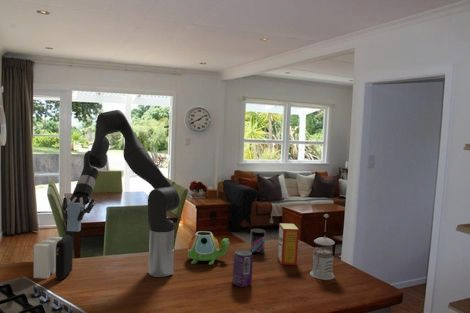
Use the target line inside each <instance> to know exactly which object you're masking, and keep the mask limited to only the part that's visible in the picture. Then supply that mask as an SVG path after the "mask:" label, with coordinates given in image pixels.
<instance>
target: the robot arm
mask: <svg viewBox="0 0 470 313" xmlns="http://www.w3.org/2000/svg"><path fill="white" fill-rule="evenodd" d="M95 121H96V122H95V130H94V139H93V140H94V141H93V143H92V144H91V145H92V146H91V148H90V150H87V151H86V152H85V153H84V156H83V168H82V171H81V173H80V176H79V178H78V180H77V183H76V185H75V188H74V190H73V192H72V195H71V197H70V198H67V197H63V201H62V205H61V206H62V207H61V208H62V210H63V213H64V215H63V219H64V221H67V220H68V214H67V206H68V203H69V202H72V203H81V212H80V213H79V215H78V218H77V220H78V221H81V222H82V221H83V220H84V219H83V218H84V216H85V214H90V213H91V211H92V209H93V208H94V207H95V206H96V201H95V199H94V198H93V199H91V197H92V194H93V192H94V189H95V185H96V181H97V178H98V176H99V171H98V169H103V168H105V167H106V165H107V163H108V155H107V153H108V151H109V148H110V140H109V138H108V137H107V135H111V134H114V133H120V134H121V135H122V136H123V139H124V146H123V151H122V153H123V159H124V161H125V162H126V164H127V166H128V167H129V168H130V170H131V171H132V172H133V173H134V174H135V175H136V176H138V177H139V178H141V179H142V180H144V181H145V182H147V183H148V184H149V185H150V186H152V190H150V192H149V194H148V196H147V222H148V224H149V238H148V239H149V241H148V244H149V246H148V269H147V270H148V272H147V273H148V275H149V276H151V277H155V278H164V277H168V276H173V275H174V260H175V259H174V258H175V257H174V256H175V252H174V251H175V250H174V245H175V244H174V240H175V239H174V238H175V222H174V221H173V220H171V219H168V218H167V217H168V215H167V212H169V211H173V210H176V209H178V208H179V206H180V202H181V200H180V195H179V192H178V191H177V189H176V188H175V187H174V186H173V184H172V183H171V182H170V181H169V180H168V178H167V177H166V176H165V175H164V174H163V172H162V171H161V170H160V168H159V167H158V166H157V164H156V163H155V161H154V160H153V158H152V157H151V155H150V154H149V152H148V150H146V147H144V145H143V144H142V143H141V140H140V139H139V138H138V136H137V135H136V133H135V131H134V129H133V128H132V126H131V124H130V122H129V121H128V119H127V117H126V115H125V114H124V113H123V111H121V110H119V109H115V110H109V111H104V112H101V113H98V115H97V117H96V120H95ZM86 205H87V206H86Z"/></svg>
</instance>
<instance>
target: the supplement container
mask: <svg viewBox="0 0 470 313" xmlns="http://www.w3.org/2000/svg"><path fill="white" fill-rule="evenodd" d="M249 245H250V247H249V251H251V252H252V253H253V254H252V255H256V254H260V255H263V254H264V253H265V245H266V230H265V229H262V228H252V229H250V243H249Z"/></svg>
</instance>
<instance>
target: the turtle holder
mask: <svg viewBox="0 0 470 313" xmlns="http://www.w3.org/2000/svg"><path fill="white" fill-rule="evenodd" d="M220 244H221V248H220V245H219V242H218V239H217V238H216V236H215V235H214V234H213V233H212V232H211V231H205V230H203V231H202V230H200V231H197V232H195V234H194V235H193V236H192V237H191V238H190V241H189V243H188V246H187V256H188V258H190V259H192V260H191V262H190V264H192V265H195V264H197V263H198V262H199V261H201V262H204V261H205V262H207V261H209V262H208V265H214V264H215V262H216V260H217V259H219V258H220V257H222V256H225V254H227V253H226V252H227V250H228V247H229V246H230V239H229V238H223V239H222V240H221V241H220Z"/></svg>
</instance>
